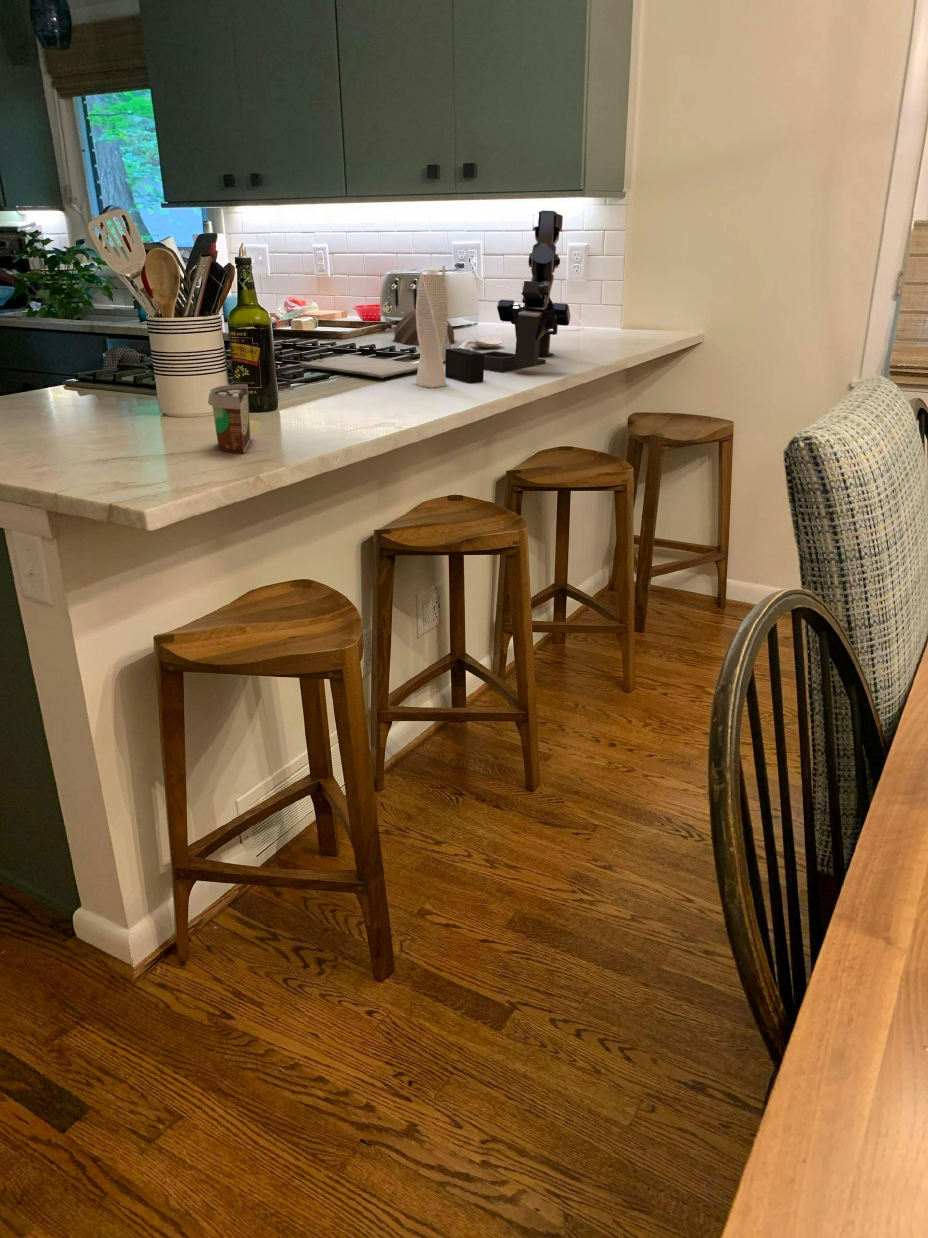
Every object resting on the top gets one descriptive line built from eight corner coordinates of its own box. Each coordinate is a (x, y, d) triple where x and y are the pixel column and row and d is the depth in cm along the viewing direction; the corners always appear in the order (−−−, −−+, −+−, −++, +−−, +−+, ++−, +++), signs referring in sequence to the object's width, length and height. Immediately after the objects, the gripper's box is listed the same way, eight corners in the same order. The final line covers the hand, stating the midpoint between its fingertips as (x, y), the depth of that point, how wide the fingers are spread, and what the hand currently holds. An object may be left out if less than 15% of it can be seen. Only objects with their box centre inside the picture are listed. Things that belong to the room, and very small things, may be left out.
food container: (217, 438, 172) (213, 383, 168) (251, 438, 172) (247, 383, 168) (206, 455, 160) (201, 396, 156) (242, 455, 161) (238, 396, 157)
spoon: (432, 356, 267) (432, 343, 266) (482, 343, 293) (482, 332, 292) (460, 359, 263) (460, 346, 262) (508, 346, 290) (508, 334, 288)
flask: (456, 358, 264) (457, 322, 260) (453, 362, 258) (454, 325, 254) (431, 357, 265) (431, 321, 261) (427, 361, 258) (428, 324, 254)
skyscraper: (453, 385, 227) (456, 262, 215) (432, 389, 222) (434, 263, 210) (430, 380, 231) (432, 260, 220) (409, 384, 226) (409, 261, 215)
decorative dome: (380, 340, 294) (379, 306, 289) (422, 334, 307) (423, 303, 303) (425, 347, 282) (425, 313, 278) (467, 341, 296) (468, 308, 292)
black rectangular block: (487, 381, 234) (488, 352, 231) (470, 383, 230) (471, 354, 228) (461, 374, 241) (462, 346, 238) (445, 376, 238) (445, 348, 235)
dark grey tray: (498, 356, 271) (499, 343, 270) (545, 362, 263) (546, 350, 261) (453, 364, 255) (454, 351, 253) (502, 372, 246) (503, 358, 245)
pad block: (519, 361, 248) (523, 310, 242) (537, 363, 246) (542, 312, 241) (514, 364, 243) (518, 312, 238) (532, 366, 242) (537, 314, 236)
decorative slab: (297, 369, 240) (297, 361, 240) (348, 359, 257) (348, 352, 256) (384, 382, 228) (384, 373, 227) (431, 370, 245) (431, 363, 244)
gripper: (500, 266, 241) (486, 315, 236) (571, 270, 236) (558, 320, 231) (507, 295, 251) (494, 343, 246) (575, 300, 246) (563, 348, 241)
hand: (526, 338), depth 241 cm, fingers closed on pad block, 5 cm apart
